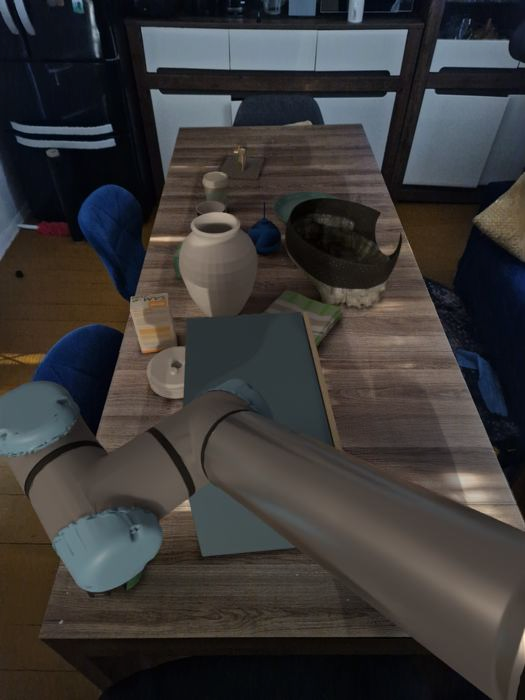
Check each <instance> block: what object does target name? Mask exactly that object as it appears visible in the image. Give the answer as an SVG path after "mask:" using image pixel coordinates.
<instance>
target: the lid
mask: <svg viewBox="0 0 525 700" xmlns="http://www.w3.org/2000/svg"><path fill="white" fill-rule="evenodd" d="M184 369H185V346H184V345H183V346H181V345H180V346H177V347H172V348H168V349H165V350H163V351H158V353H156V354H155V355H154V356H153V357H152V358H151V359H150V360H149V362H148V364H147V366H146V376H147V379H148V385H149V386H150V388H151V390H152V391H153V392H154V393H155V394H157V395H159V396H161V397H163V398H167V399H183V393H184Z"/></svg>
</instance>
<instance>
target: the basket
mask: <svg viewBox="0 0 525 700" xmlns="http://www.w3.org/2000/svg"><path fill="white" fill-rule="evenodd" d="M381 214H382V212H381V211H379V210H378V209H375V208H373V207H370V206H367V205H366V204H361V203H358V202H355V201H351V200H350V201H349V200H347V199H346V200H345V199H341V198H339V199H331V198H316V199H309V200H306V201H303V202H301V203H299V204H298V205H296V206H295V207H294V208H293V210H292V211H291V214H290V216H289V218H288V221H287V225H286V224H285V225H286V226H285V230H284V244H285V248H284V250H283V252H284V253H285V254H287V255H288V256H289V259H290V260H291V261H292V263H294V266H296V267H297V268H298V270H300V271H301V272H302V273H303V274H304V275H305V276H306V277H307V278H308V279H309V280H310V282H311V283H312V284H313V285H314V287H315V288H316V289H317V290H318V292H319V293H320V294H319V295H320V297H321V298H320V300H321V302H322V303H325V304H329V305H334V306H338V307H339V304H340V303H342V304H344V303H346V304H345V305H346V306H347V307H352V306H353V307H357V308H358V309H362V305H363V306H364V307H371V306H374V302H376V303H377V302H379V301H380V299H381V292H383V291H385V290H386V284H387V281H388V280H389V278H390V276H391V275H392V273H393V271H394V269H395V266H396V264H397V262H398V259H399V257H400V254H401V250H402V245H403V235H402V232H401V231H400V232H399V239H398V243H397V246H396V248H395V250H394V251H393V252H392V253H391V254H386V253H384V252H383V251H382V250H381V249H380V247H379V245H378V242H377V238H376V227H377V222H378V220H379V218H380V216H381Z"/></svg>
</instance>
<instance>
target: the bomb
mask: <svg viewBox="0 0 525 700" xmlns="http://www.w3.org/2000/svg"><path fill="white" fill-rule="evenodd" d="M262 205H263V208H262V209H263V217H262V218H260V220H258V221H256V222H255V223H254V224H253V225H251V226H250V228H249V229H248V232H247V235H248V236H249V237H250V238H251V240H252V242H253V244H254V246H255V248H256V253H257V256H261V257H267V256H271V255H273V254H275V253H276V252H277V251H278V250H279V248H280V246H281V244H282V233H281V230H280V229H279V227H278V226H277V225H276V224H275V223H274V222H273V221H271V220H269V219H268V218H267V217H266V202H265V201H264V202H263V203H262Z"/></svg>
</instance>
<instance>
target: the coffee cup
mask: <svg viewBox="0 0 525 700" xmlns="http://www.w3.org/2000/svg"><path fill="white" fill-rule="evenodd" d="M201 183H202V185H203V189H204V194H205V198H206V201H217V202H220V203H222V204H224V205H225V213H228V212H227V211H228V196H229V185H230V178H228V177H227V175H226V174H225V173H223V172H220V171H209V172H206V173H205V174H204V175H203V179H202V182H201Z"/></svg>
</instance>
